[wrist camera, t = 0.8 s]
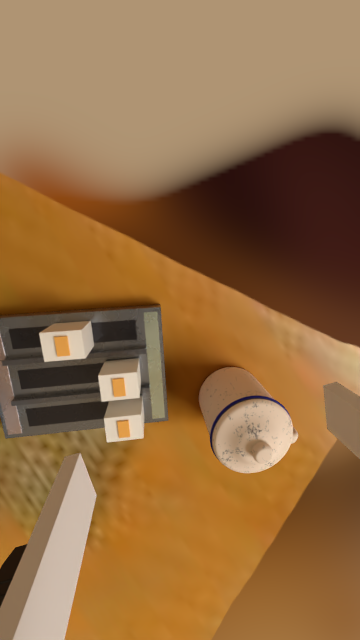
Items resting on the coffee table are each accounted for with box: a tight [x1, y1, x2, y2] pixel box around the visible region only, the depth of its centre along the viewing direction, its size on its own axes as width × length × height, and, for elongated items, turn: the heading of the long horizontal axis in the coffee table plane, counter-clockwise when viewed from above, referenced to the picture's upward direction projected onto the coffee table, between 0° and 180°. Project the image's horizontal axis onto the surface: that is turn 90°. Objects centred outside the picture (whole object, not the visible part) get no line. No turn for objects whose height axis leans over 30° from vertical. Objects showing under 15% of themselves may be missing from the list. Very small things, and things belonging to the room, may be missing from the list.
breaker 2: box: [98, 358, 141, 402], centre depth 29 cm, size 4×3×4 cm
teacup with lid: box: [199, 367, 298, 473], centre depth 30 cm, size 12×9×12 cm
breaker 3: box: [104, 396, 144, 442], centre depth 30 cm, size 4×3×4 cm
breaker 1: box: [39, 321, 94, 362], centre depth 27 cm, size 4×3×4 cm
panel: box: [0, 304, 168, 438], centre depth 31 cm, size 20×15×3 cm
